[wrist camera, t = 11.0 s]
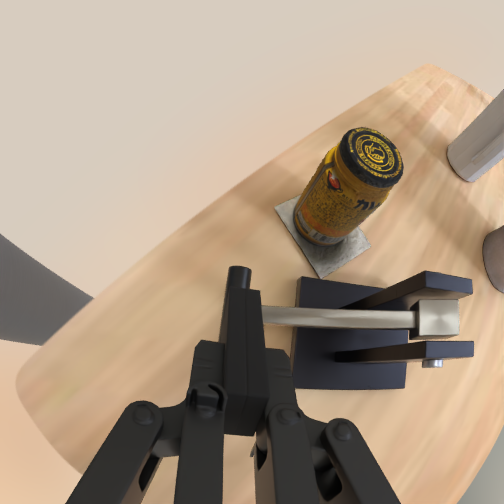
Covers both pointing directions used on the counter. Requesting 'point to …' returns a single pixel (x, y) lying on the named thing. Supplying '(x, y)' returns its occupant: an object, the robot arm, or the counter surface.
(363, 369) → the bracket
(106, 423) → the counter surface
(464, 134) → the water bottle
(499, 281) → the pillar candle
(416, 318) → the lever
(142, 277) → the counter surface
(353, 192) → the condiment
